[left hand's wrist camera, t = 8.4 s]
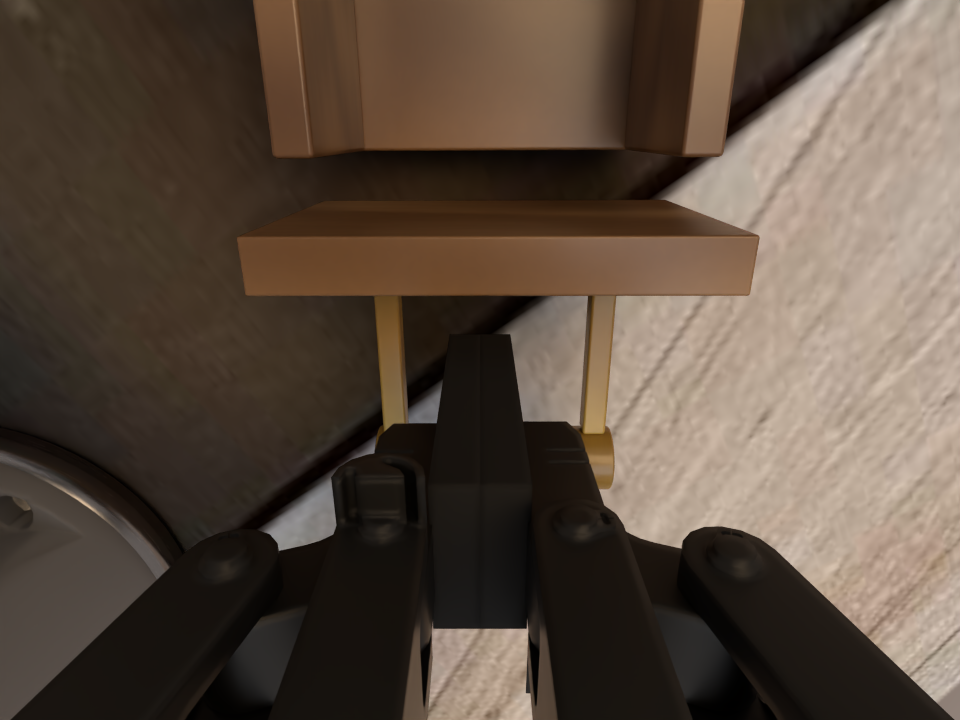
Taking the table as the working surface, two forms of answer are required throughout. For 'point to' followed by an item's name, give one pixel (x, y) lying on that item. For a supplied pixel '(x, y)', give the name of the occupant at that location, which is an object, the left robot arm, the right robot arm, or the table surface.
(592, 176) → the table surface
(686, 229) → the drawer
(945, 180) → the table surface
